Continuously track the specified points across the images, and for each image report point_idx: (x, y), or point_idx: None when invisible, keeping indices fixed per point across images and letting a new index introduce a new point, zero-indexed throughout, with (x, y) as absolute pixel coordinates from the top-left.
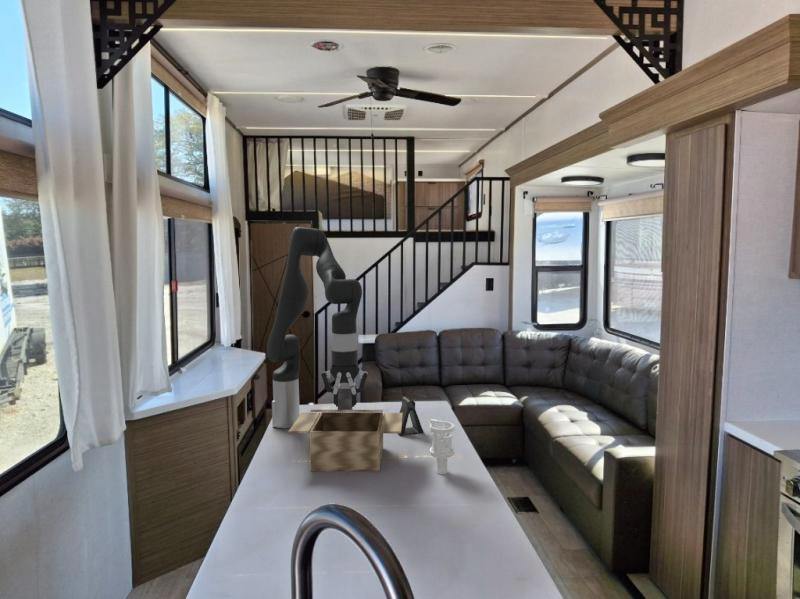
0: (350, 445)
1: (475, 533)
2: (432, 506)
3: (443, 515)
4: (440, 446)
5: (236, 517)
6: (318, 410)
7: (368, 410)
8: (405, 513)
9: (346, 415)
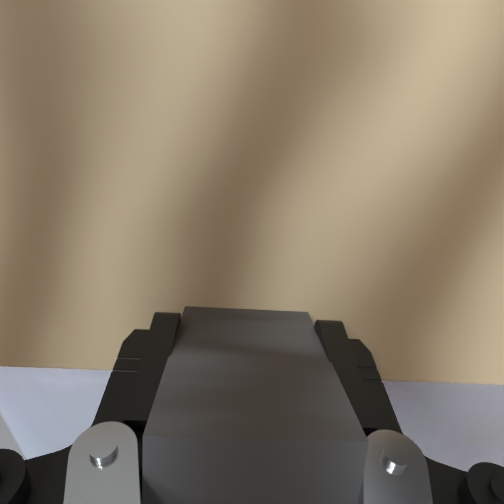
0: None
1: (501, 455)
2: (463, 386)
3: (471, 413)
4: None
5: (11, 408)
6: (15, 362)
7: (437, 380)
8: (392, 405)
9: None
